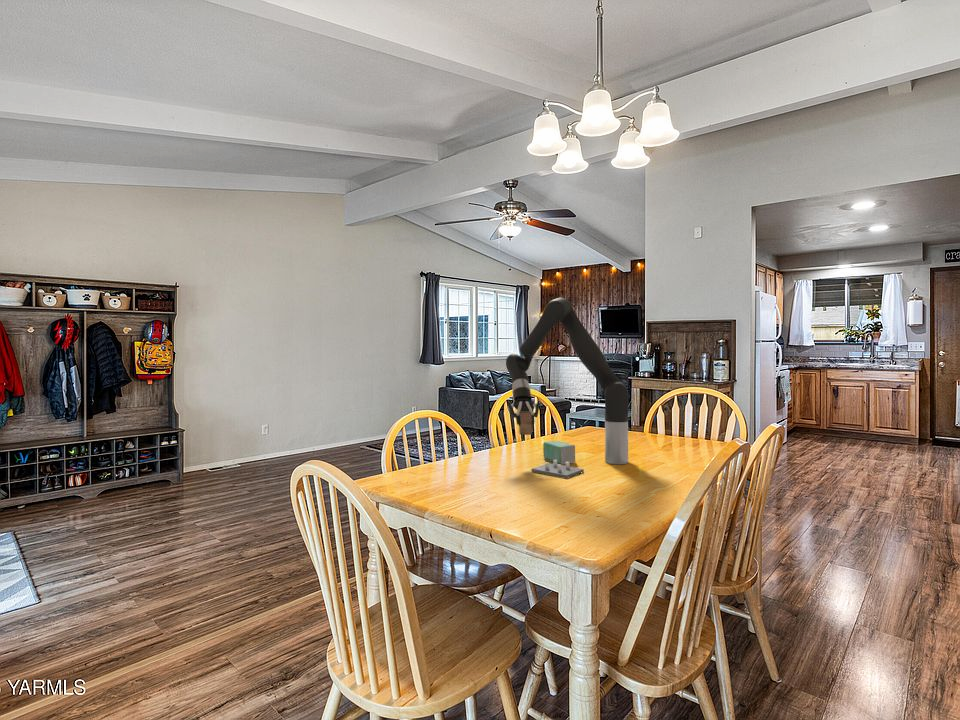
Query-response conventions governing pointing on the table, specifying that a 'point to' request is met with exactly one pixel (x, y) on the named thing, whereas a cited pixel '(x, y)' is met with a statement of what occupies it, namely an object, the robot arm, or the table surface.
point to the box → (559, 451)
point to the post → (525, 423)
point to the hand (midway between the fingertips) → (526, 424)
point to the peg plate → (557, 469)
